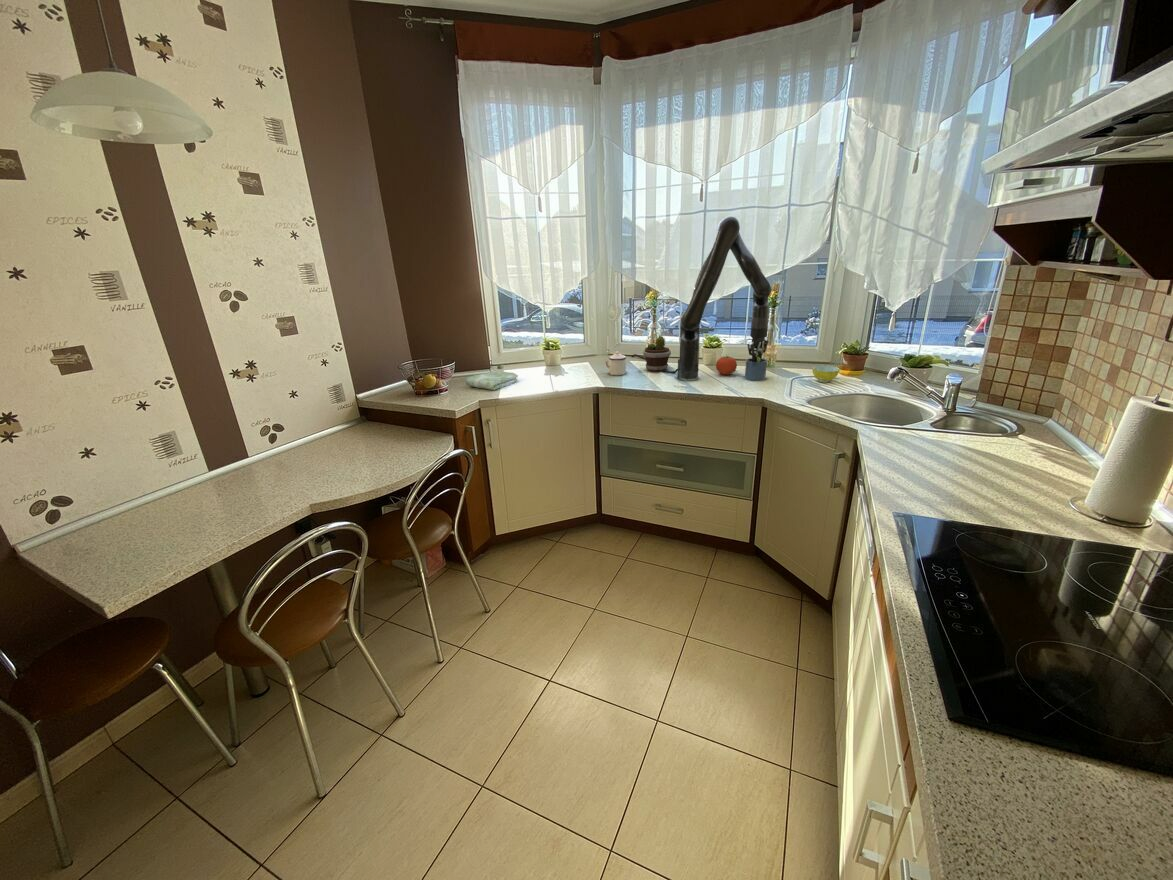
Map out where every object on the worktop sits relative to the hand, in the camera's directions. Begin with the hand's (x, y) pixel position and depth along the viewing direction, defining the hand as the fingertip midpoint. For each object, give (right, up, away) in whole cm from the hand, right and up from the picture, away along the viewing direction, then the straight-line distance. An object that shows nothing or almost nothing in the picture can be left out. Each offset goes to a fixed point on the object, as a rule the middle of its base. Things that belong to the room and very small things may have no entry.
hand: (756, 362), depth 229 cm
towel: (-130, -9, +15) cm, 131 cm away
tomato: (-11, -4, +12) cm, 17 cm away
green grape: (0, 0, 0) cm, 0 cm away
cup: (0, -7, +3) cm, 8 cm away
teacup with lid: (-66, -2, +26) cm, 71 cm away
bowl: (+29, -10, -8) cm, 31 cm away
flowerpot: (-44, +1, +28) cm, 52 cm away
